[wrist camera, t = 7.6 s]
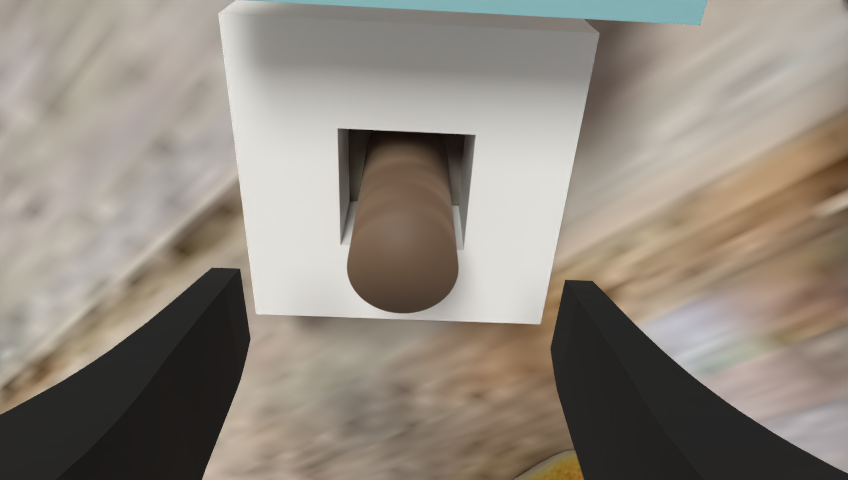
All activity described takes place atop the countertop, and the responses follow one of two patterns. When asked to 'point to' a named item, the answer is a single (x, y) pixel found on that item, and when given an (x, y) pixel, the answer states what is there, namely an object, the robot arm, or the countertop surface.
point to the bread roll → (555, 468)
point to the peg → (404, 224)
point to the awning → (548, 8)
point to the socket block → (413, 112)
